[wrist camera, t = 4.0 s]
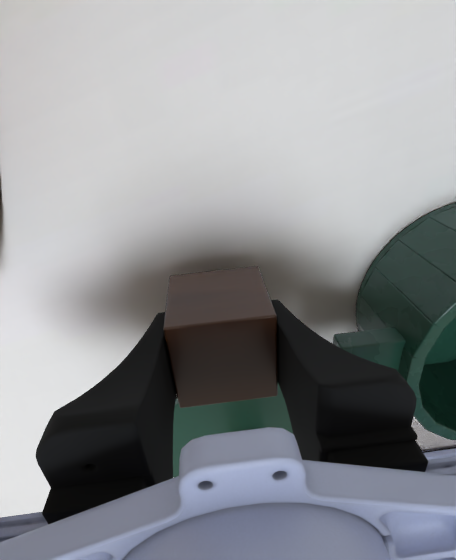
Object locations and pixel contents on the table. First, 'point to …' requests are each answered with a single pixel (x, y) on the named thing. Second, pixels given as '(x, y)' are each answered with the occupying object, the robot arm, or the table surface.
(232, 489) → the robot arm
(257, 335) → the block
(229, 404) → the lid
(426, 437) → the table surface
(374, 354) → the pot
